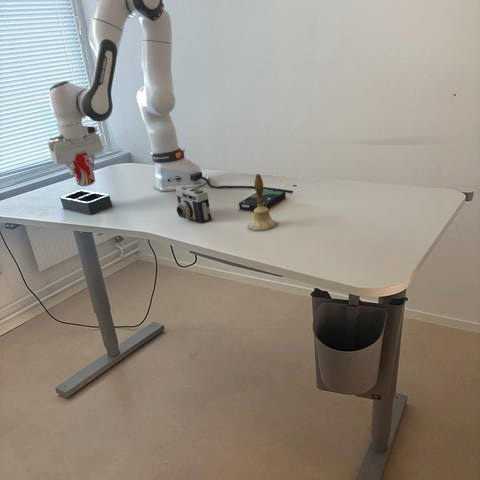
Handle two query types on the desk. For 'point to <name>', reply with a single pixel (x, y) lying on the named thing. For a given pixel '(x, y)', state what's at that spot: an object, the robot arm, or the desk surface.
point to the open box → (86, 202)
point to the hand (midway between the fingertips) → (83, 170)
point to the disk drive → (268, 200)
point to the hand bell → (261, 210)
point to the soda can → (83, 169)
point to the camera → (193, 204)
